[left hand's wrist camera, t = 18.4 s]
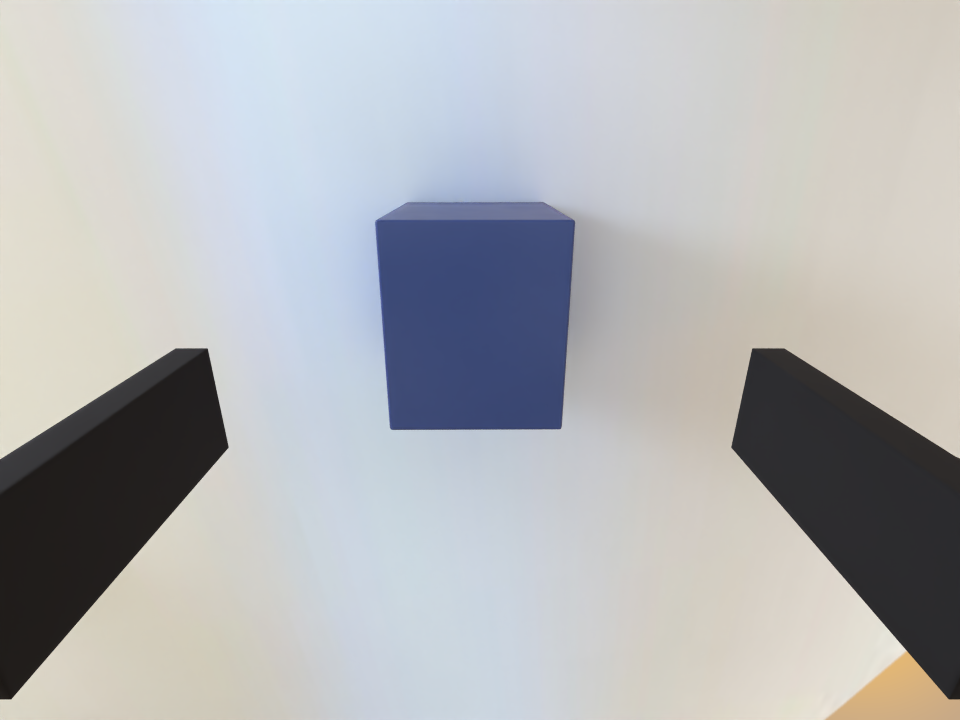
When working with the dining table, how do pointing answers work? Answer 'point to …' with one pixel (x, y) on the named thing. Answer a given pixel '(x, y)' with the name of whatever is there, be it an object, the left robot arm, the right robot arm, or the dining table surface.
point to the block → (475, 314)
